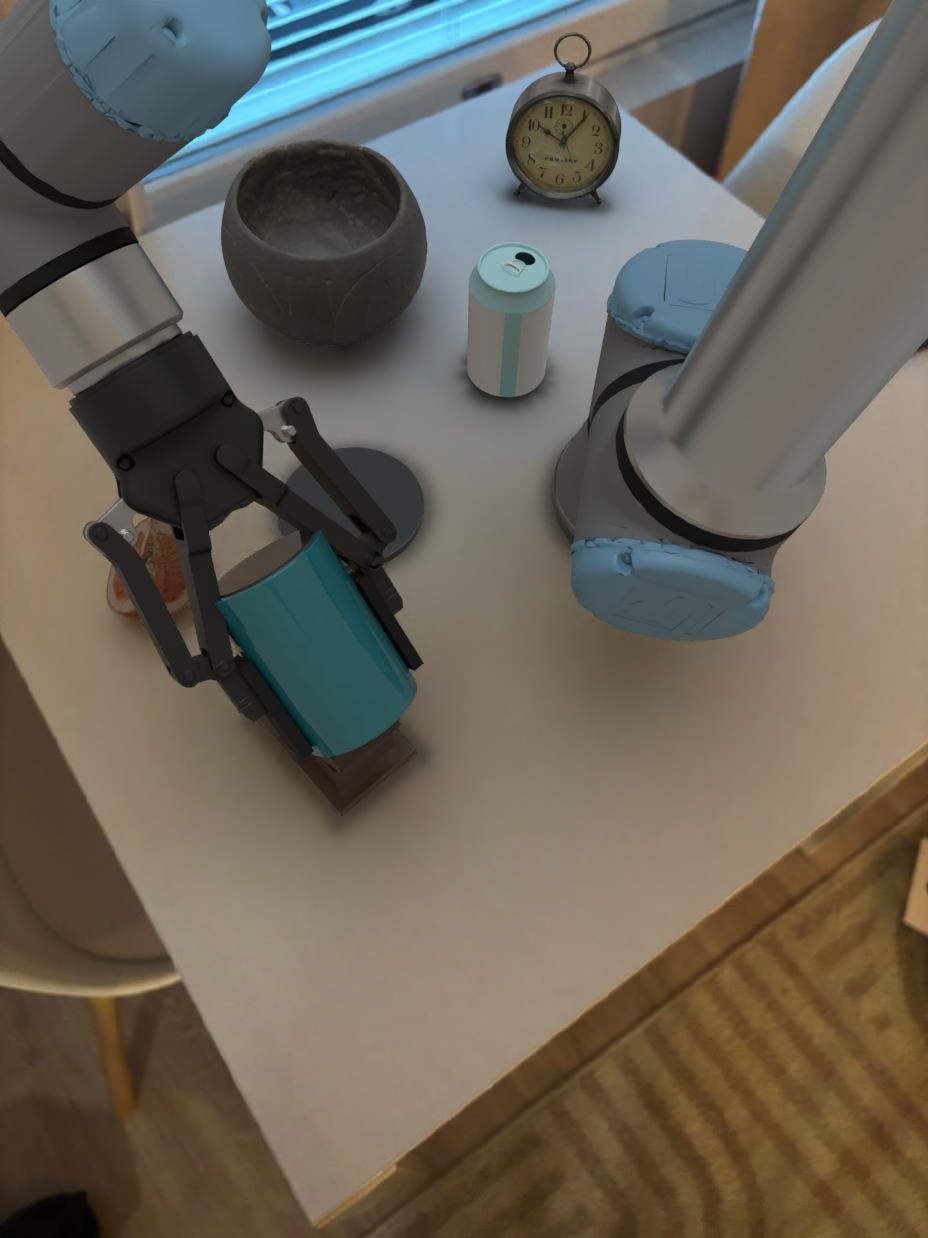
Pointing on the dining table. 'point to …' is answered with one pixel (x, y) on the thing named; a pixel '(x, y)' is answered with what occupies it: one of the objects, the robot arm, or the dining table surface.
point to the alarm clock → (564, 134)
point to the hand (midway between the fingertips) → (356, 705)
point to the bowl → (323, 241)
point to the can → (509, 319)
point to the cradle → (351, 766)
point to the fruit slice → (153, 570)
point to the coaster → (384, 485)
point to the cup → (316, 642)
